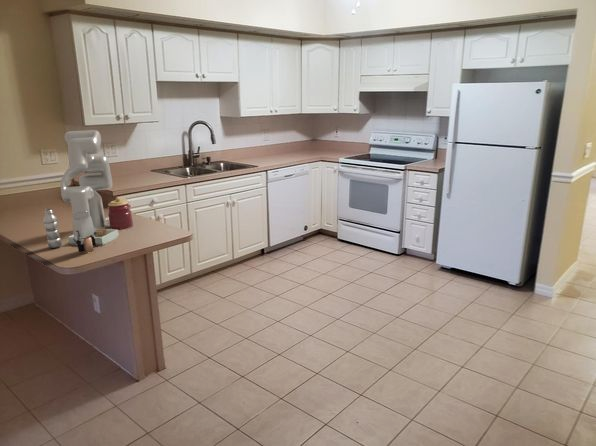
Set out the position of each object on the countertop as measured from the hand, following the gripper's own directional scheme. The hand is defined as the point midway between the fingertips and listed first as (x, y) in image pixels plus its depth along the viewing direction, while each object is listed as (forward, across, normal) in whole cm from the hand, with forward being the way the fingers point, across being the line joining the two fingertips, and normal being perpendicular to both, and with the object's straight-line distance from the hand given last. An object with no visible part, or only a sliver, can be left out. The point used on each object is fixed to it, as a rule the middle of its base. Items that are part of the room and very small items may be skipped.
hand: (87, 248), depth 229 cm
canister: (+2, -43, -8) cm, 44 cm away
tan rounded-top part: (+2, 0, 0) cm, 2 cm away
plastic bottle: (+2, -4, -22) cm, 23 cm away
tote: (+2, -17, -8) cm, 19 cm away
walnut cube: (+1, -17, -4) cm, 18 cm away
